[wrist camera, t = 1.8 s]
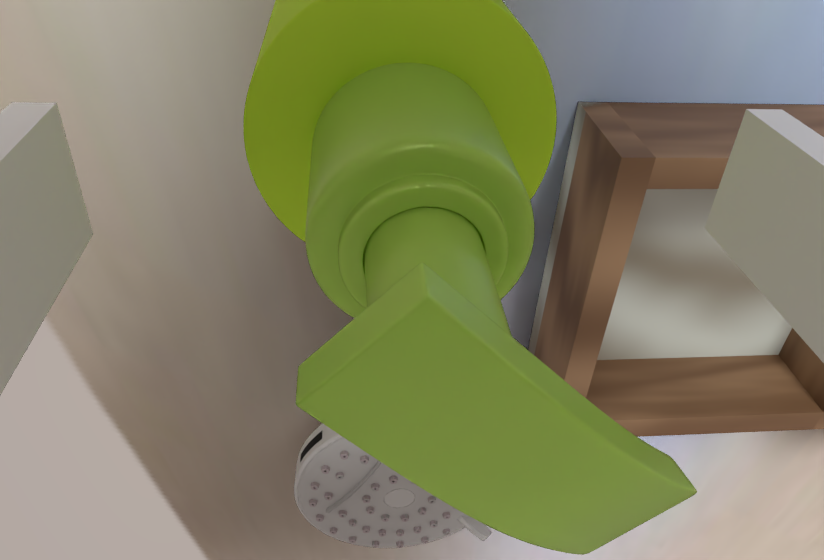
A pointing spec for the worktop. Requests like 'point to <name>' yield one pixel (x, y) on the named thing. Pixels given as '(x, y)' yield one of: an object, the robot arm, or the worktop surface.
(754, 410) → the wooden box
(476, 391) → the soap dispenser
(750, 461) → the worktop surface
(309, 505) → the showerhead
